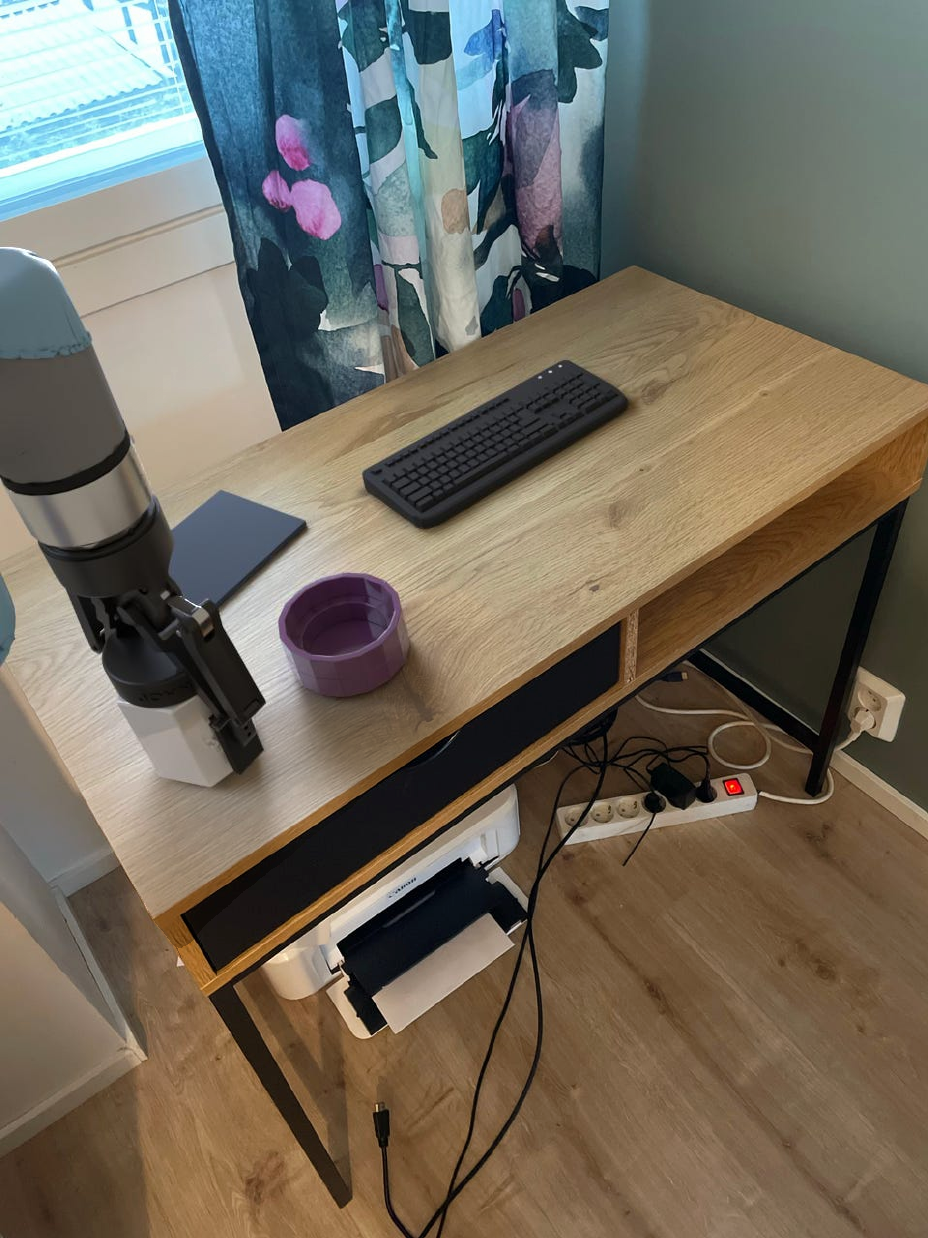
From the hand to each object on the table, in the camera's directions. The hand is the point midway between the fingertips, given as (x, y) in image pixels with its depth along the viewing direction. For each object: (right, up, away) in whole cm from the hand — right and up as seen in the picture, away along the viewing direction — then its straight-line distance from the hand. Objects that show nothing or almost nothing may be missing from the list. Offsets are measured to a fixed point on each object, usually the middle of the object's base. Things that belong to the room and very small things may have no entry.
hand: (205, 736), depth 71 cm
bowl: (+11, +6, +7) cm, 14 cm away
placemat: (-5, +16, +18) cm, 24 cm away
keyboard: (+25, +28, +26) cm, 45 cm away
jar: (0, -1, +1) cm, 1 cm away
